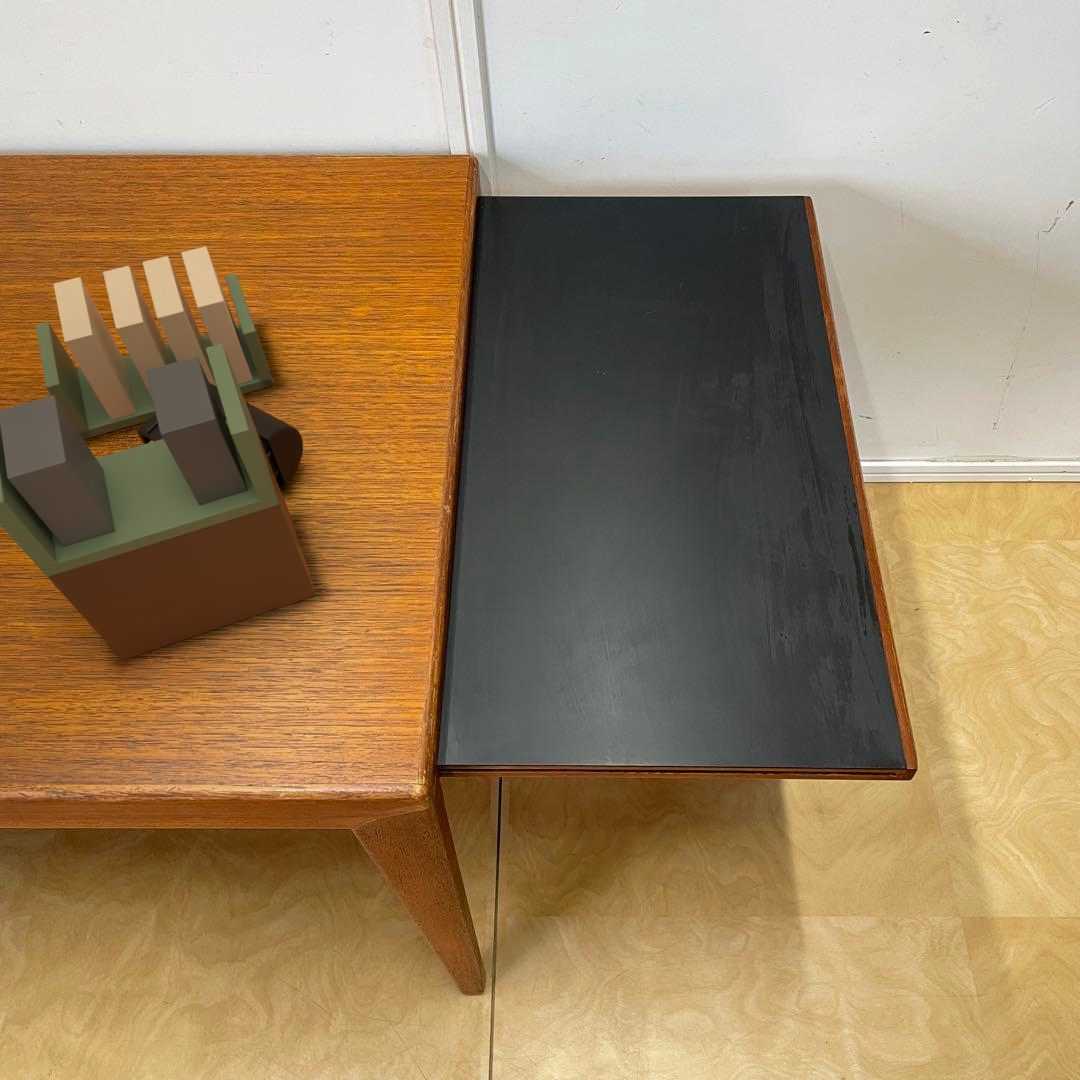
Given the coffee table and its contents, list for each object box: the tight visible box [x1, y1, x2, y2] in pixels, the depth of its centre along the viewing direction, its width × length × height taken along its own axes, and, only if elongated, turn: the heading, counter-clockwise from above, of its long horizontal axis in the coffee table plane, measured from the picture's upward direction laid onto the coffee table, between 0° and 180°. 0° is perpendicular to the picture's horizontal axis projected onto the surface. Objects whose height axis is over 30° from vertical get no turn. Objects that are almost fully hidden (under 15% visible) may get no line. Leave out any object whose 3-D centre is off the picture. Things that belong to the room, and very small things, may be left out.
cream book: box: [53, 276, 136, 420], centre depth 73 cm, size 2×6×9 cm, turn 22°
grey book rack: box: [0, 344, 317, 661], centre depth 59 cm, size 14×7×20 cm, turn 112°
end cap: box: [136, 383, 304, 492], centre depth 71 cm, size 10×7×7 cm
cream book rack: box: [35, 245, 275, 441], centre depth 74 cm, size 16×7×10 cm, turn 112°
